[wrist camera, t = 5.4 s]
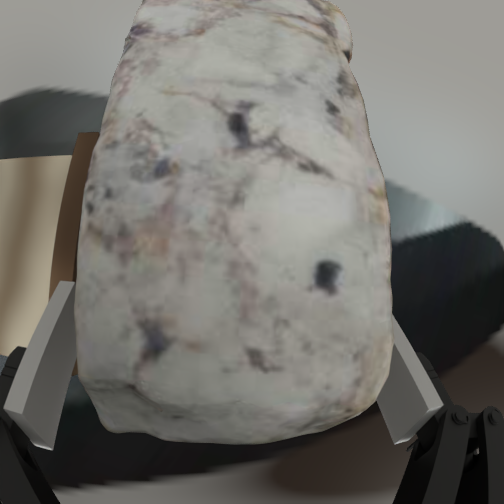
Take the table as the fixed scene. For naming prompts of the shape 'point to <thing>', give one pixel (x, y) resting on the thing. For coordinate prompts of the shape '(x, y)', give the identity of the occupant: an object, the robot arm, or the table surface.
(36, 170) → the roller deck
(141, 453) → the table surface
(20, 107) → the table surface
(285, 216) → the stone block
